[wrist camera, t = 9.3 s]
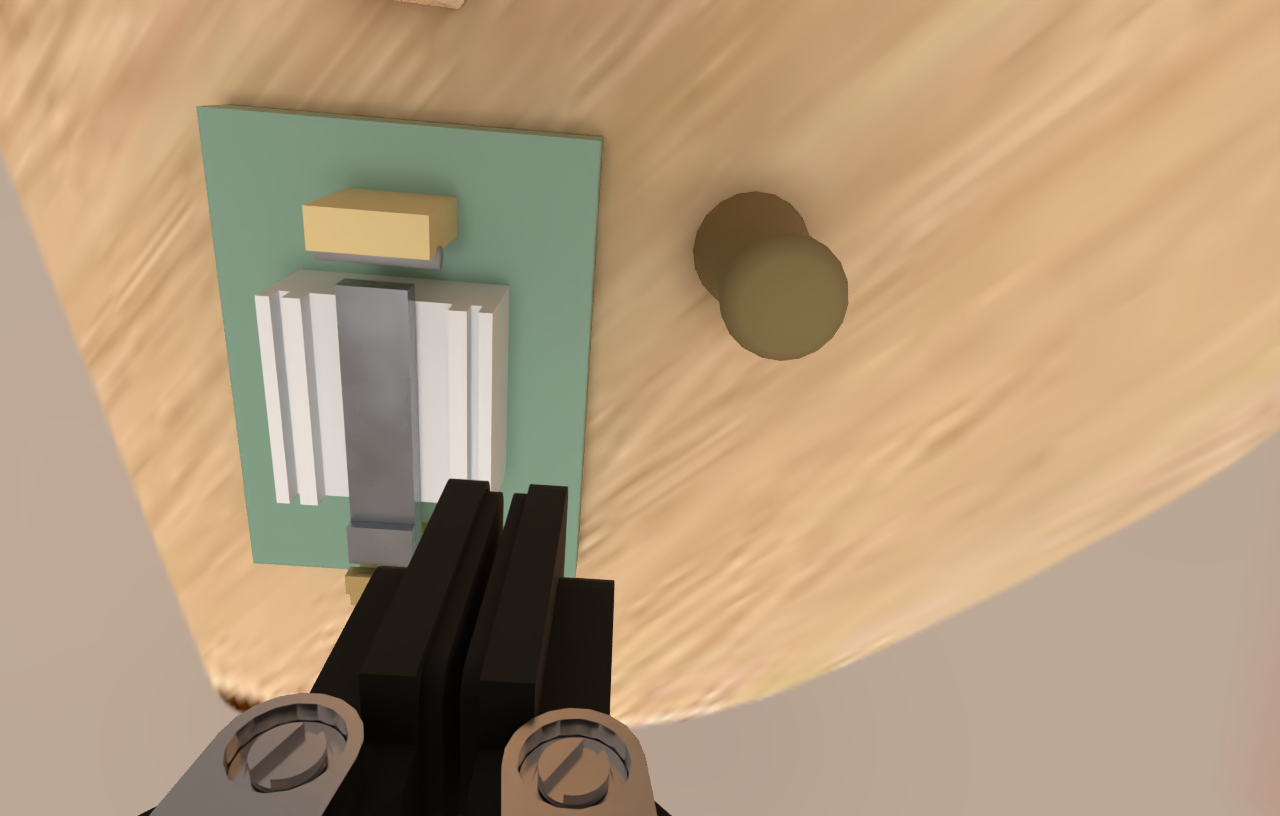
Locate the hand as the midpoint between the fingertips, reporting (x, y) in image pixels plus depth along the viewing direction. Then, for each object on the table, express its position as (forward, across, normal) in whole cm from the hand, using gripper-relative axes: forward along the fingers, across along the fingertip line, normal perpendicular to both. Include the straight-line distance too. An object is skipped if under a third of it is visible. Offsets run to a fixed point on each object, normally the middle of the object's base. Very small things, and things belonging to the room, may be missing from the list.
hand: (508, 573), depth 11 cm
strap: (+24, +9, +9) cm, 27 cm away
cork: (+31, -8, +1) cm, 32 cm away
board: (+31, +9, +8) cm, 33 cm away
